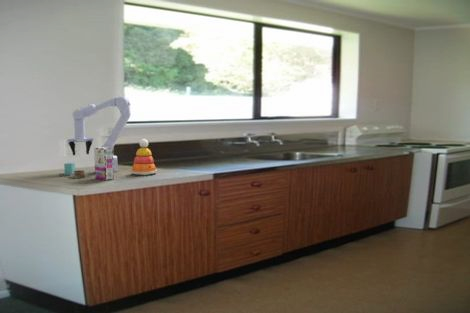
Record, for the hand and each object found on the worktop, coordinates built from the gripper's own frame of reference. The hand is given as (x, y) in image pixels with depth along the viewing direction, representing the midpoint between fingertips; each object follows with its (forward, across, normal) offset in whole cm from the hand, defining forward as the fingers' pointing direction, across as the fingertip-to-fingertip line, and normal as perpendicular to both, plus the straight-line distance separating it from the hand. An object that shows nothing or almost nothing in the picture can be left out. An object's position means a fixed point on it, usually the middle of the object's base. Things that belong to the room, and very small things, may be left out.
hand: (80, 154), depth 278 cm
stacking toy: (+10, +26, -29) cm, 40 cm away
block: (+10, -9, -7) cm, 15 cm away
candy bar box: (+10, +2, -32) cm, 34 cm away
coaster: (+10, -9, -7) cm, 15 cm away
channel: (+10, -7, -18) cm, 22 cm away
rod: (+10, -8, -18) cm, 22 cm away
